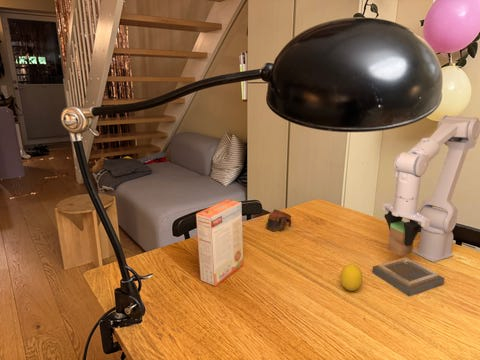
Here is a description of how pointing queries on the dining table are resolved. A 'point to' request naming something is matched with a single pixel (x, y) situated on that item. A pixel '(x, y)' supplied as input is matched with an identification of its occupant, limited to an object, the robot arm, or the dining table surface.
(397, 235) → the brown and green block
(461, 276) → the dining table surface
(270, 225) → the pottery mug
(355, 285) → the lemon
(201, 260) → the cracker box
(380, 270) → the gray square tray
